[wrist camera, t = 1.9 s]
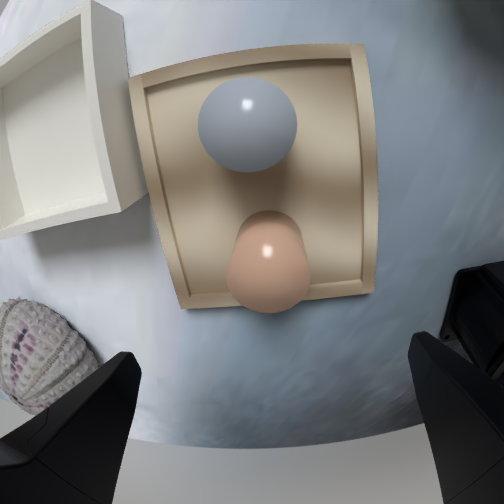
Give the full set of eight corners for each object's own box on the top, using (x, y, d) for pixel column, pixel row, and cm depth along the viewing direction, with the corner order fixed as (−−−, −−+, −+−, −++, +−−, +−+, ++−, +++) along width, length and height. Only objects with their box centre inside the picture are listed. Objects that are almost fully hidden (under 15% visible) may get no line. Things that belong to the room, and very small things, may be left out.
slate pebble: (294, 154, 14) (302, 166, 10) (223, 162, 14) (206, 178, 11) (285, 84, 12) (290, 72, 9) (212, 94, 13) (191, 86, 9)
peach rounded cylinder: (304, 267, 17) (312, 309, 13) (241, 273, 17) (234, 316, 14) (299, 207, 15) (308, 236, 12) (231, 214, 16) (219, 245, 12)
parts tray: (369, 283, 18) (373, 292, 17) (185, 300, 19) (181, 309, 18) (358, 48, 12) (364, 44, 11) (135, 80, 13) (127, 78, 12)
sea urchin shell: (-5, 308, 22) (-45, 351, 15) (44, 265, 19) (-18, 324, 12) (66, 392, 27) (40, 441, 20) (138, 381, 24) (109, 451, 17)
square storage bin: (149, 192, 16) (121, 211, 13) (28, 220, 17) (-3, 240, 14) (122, 15, 11) (90, -1, 8) (2, 84, 12) (-31, 88, 9)
